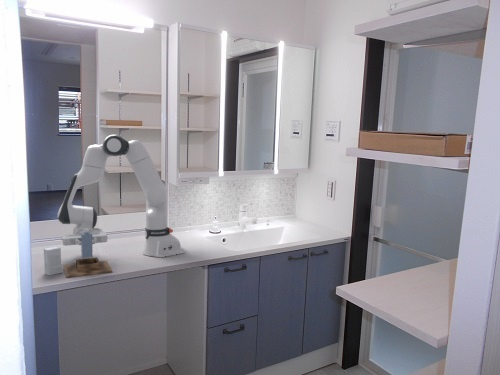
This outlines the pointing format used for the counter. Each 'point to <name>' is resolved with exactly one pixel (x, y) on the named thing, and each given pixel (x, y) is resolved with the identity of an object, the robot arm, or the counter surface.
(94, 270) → the bottle caddy
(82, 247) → the soap bottle
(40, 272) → the counter surface
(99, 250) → the counter surface
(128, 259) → the counter surface
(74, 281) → the counter surface
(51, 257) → the skincare box
